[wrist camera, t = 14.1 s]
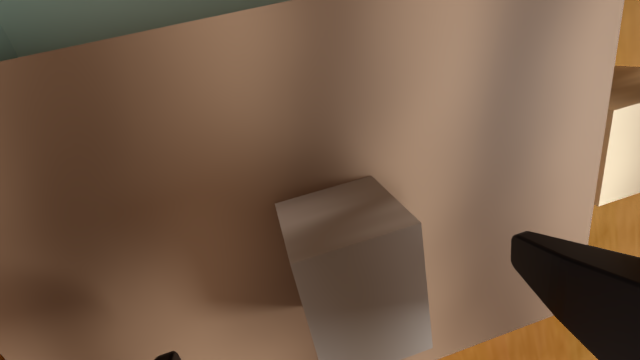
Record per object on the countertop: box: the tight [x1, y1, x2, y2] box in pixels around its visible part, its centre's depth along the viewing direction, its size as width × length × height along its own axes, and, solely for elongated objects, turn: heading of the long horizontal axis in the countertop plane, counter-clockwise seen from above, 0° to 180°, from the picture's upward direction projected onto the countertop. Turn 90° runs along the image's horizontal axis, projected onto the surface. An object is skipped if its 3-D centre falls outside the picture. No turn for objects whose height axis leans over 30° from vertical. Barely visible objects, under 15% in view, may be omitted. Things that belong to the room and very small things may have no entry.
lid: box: [0, 0, 624, 360], centre depth 10 cm, size 20×14×4 cm
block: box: [594, 66, 640, 206], centre depth 16 cm, size 6×4×6 cm, turn 102°
